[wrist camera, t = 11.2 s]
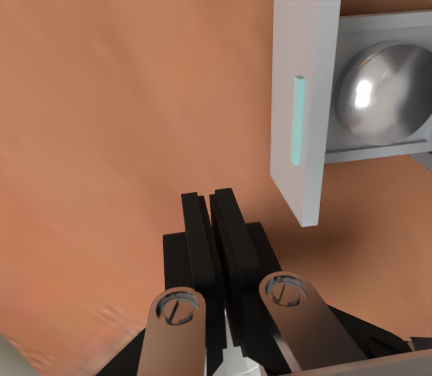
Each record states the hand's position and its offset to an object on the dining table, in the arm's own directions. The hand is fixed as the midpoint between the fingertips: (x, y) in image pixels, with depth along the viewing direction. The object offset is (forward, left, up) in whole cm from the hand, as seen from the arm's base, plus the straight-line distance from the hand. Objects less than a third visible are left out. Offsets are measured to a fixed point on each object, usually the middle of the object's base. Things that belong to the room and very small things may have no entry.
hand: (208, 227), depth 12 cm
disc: (0, +13, -13) cm, 18 cm away
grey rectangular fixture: (0, +13, -14) cm, 19 cm away
